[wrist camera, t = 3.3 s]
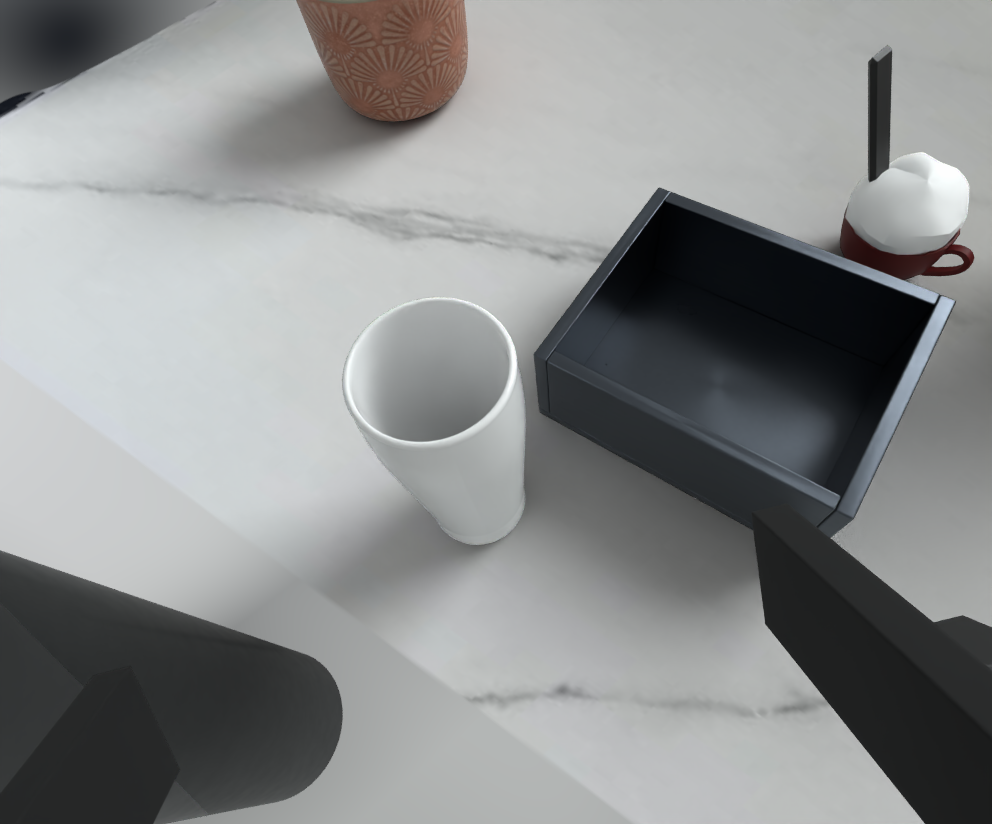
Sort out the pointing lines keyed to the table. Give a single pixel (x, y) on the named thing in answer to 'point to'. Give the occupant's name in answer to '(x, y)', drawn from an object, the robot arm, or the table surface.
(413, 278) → the table surface
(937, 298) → the dark storage bin
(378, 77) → the planter
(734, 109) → the table surface
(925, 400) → the table surface
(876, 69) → the cocoa
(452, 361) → the white cup
